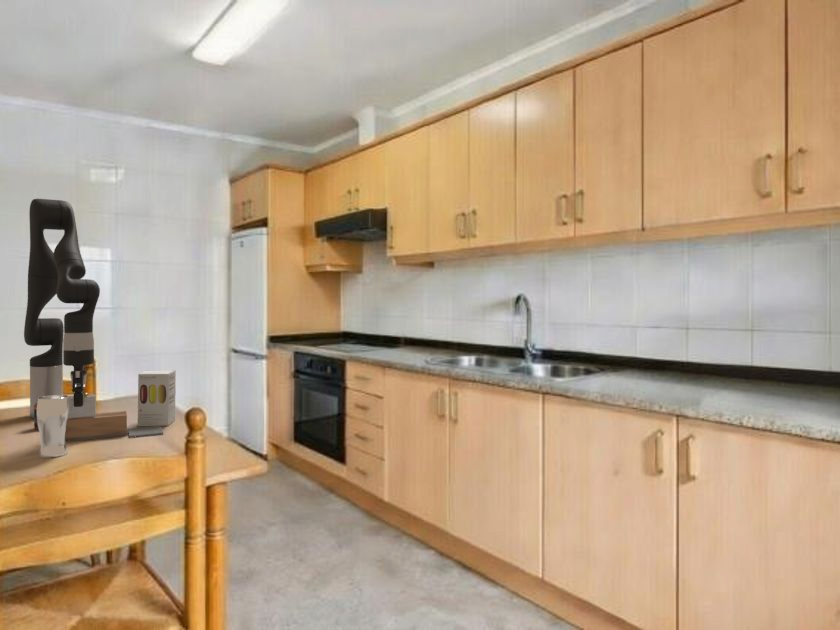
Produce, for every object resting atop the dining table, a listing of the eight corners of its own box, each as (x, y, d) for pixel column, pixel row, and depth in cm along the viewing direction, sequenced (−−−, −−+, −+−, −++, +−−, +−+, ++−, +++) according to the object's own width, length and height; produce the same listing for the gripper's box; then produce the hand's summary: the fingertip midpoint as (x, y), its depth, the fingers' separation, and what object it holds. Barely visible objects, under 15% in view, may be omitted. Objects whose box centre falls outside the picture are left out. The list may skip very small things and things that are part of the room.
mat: (128, 430, 166) (128, 428, 166) (160, 427, 170) (160, 425, 170) (129, 437, 157) (129, 435, 157) (163, 434, 161) (163, 432, 161)
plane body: (54, 437, 157) (54, 416, 157) (126, 430, 166) (126, 410, 166) (52, 442, 150) (52, 421, 150) (127, 435, 160) (127, 415, 159)
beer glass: (44, 460, 135) (44, 400, 134) (31, 455, 138) (31, 397, 138) (74, 453, 141) (74, 396, 140) (61, 449, 144) (61, 393, 144)
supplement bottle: (57, 427, 169) (57, 396, 168) (40, 430, 164) (40, 399, 164) (47, 425, 171) (47, 395, 170) (30, 428, 166) (30, 397, 166)
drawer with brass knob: (63, 416, 156) (63, 393, 156) (95, 414, 160) (95, 391, 160) (62, 419, 153) (62, 395, 152) (95, 417, 157) (95, 393, 156)
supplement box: (136, 426, 170) (136, 373, 170) (145, 420, 179) (145, 369, 179) (169, 425, 172) (169, 373, 172) (176, 419, 181) (176, 369, 181)
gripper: (65, 346, 160) (65, 401, 161) (61, 350, 148) (61, 409, 148) (94, 346, 164) (94, 399, 164) (93, 349, 152) (93, 407, 152)
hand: (79, 404), depth 156 cm, fingers open, 8 cm apart
